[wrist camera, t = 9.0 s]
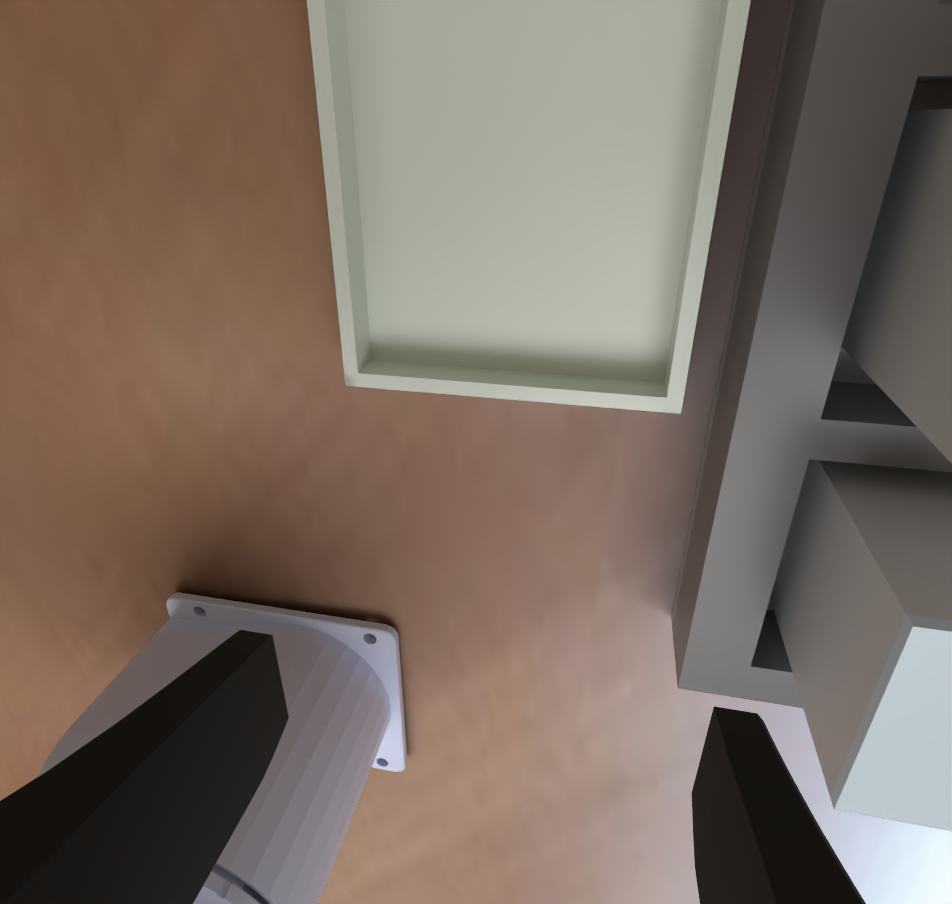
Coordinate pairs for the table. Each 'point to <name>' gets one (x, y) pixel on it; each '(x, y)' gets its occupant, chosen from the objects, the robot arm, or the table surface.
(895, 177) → the plug
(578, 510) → the table surface
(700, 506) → the grey slotted rack
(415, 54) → the tray
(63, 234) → the table surface
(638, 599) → the table surface
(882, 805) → the twin plug
